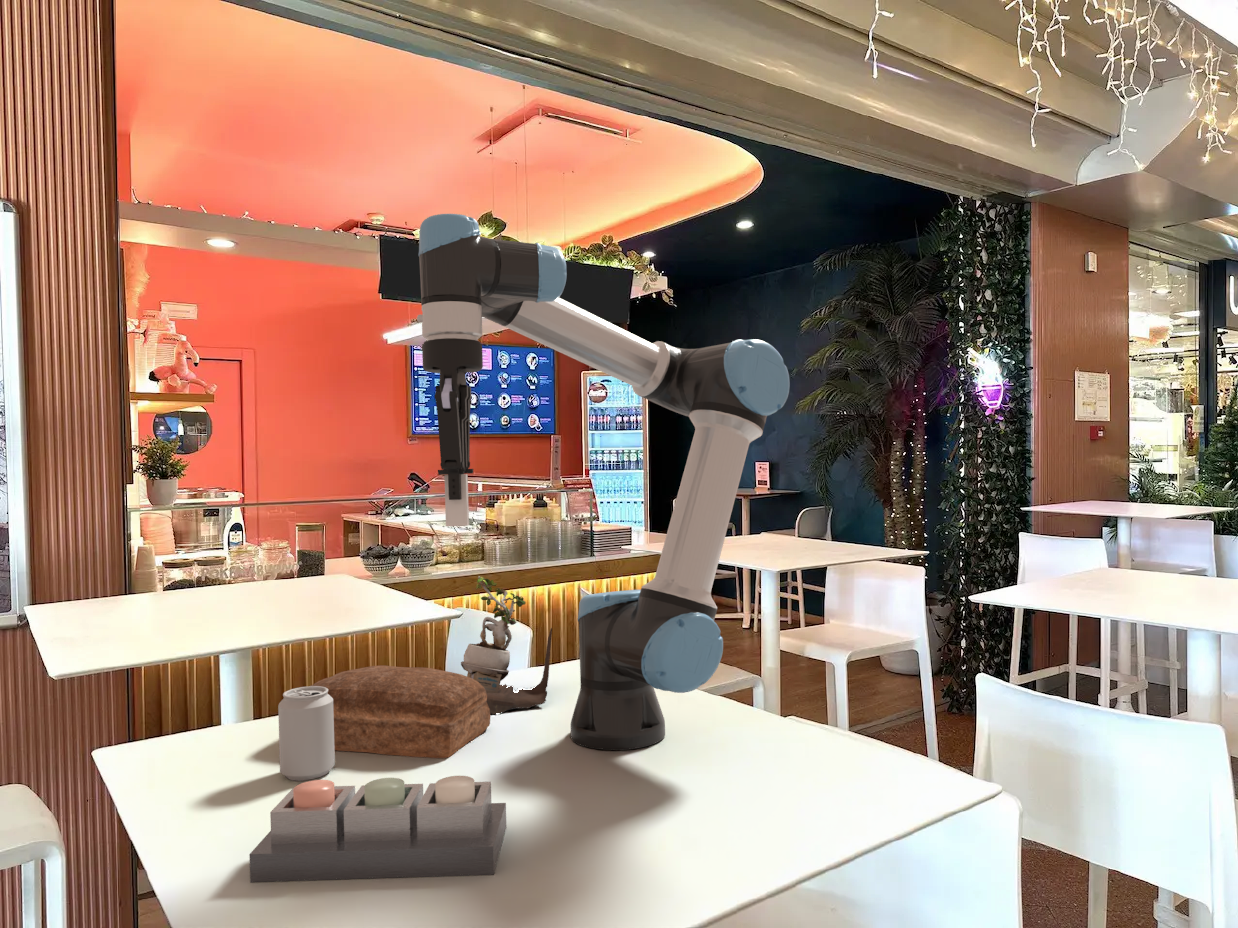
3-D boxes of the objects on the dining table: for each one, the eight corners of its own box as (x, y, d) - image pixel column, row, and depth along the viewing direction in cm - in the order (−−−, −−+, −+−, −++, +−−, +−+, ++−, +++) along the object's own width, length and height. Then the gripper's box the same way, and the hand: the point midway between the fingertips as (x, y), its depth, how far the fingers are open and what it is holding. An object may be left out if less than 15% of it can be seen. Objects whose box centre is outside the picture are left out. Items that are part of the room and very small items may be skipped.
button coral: (340, 817, 102) (339, 779, 102) (328, 833, 98) (327, 793, 98) (302, 818, 102) (301, 780, 102) (288, 835, 98) (287, 794, 97)
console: (506, 827, 106) (505, 773, 106) (493, 874, 94) (492, 813, 94) (290, 834, 106) (289, 780, 106) (250, 882, 94) (248, 821, 94)
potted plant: (441, 702, 171) (471, 576, 176) (535, 721, 173) (563, 596, 178) (433, 713, 152) (468, 571, 157) (539, 734, 154) (570, 594, 159)
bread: (343, 718, 155) (341, 653, 154) (497, 728, 146) (495, 660, 146) (280, 749, 138) (278, 677, 138) (449, 763, 130) (447, 686, 130)
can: (317, 783, 122) (315, 697, 122) (269, 781, 124) (266, 696, 124) (344, 765, 130) (342, 684, 129) (298, 762, 131) (296, 682, 131)
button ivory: (478, 813, 102) (477, 774, 102) (472, 829, 98) (471, 789, 98) (440, 814, 102) (439, 776, 102) (432, 830, 98) (431, 790, 98)
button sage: (409, 815, 102) (408, 776, 102) (400, 831, 98) (399, 791, 98) (371, 816, 102) (370, 778, 102) (360, 832, 98) (359, 792, 98)
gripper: (432, 347, 118) (437, 522, 118) (411, 333, 105) (417, 530, 105) (488, 346, 118) (493, 521, 118) (474, 332, 105) (479, 528, 105)
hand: (457, 525), depth 112 cm, fingers closed
